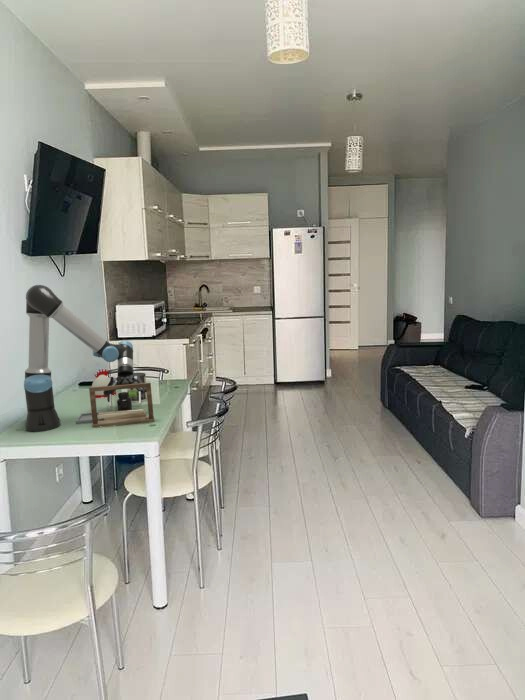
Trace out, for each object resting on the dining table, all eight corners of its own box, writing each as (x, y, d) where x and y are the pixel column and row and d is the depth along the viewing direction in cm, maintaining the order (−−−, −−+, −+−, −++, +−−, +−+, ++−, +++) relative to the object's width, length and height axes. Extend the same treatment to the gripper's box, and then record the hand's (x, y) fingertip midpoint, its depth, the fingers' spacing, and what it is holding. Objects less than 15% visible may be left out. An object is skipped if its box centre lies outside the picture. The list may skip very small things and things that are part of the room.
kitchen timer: (119, 394, 309) (117, 369, 307) (95, 399, 302) (92, 372, 299) (111, 391, 321) (108, 366, 318) (87, 395, 313) (85, 369, 311)
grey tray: (105, 421, 254) (105, 418, 253) (76, 424, 252) (75, 420, 252) (109, 414, 267) (108, 411, 266) (81, 416, 265) (80, 413, 264)
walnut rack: (153, 422, 248) (150, 384, 245) (92, 427, 244) (88, 389, 242) (154, 418, 254) (150, 381, 251) (94, 424, 250) (90, 386, 248)
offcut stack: (145, 420, 247) (144, 411, 247) (97, 424, 245) (96, 415, 244) (146, 417, 253) (145, 408, 252) (99, 421, 250) (98, 412, 249)
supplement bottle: (120, 416, 262) (118, 391, 260) (134, 415, 262) (132, 391, 260) (116, 420, 255) (114, 395, 253) (130, 419, 255) (128, 394, 253)
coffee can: (141, 402, 287) (138, 376, 285) (124, 402, 291) (122, 376, 289) (151, 398, 297) (149, 372, 295) (135, 397, 300) (132, 372, 298)
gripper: (151, 371, 274) (153, 407, 261) (100, 375, 270) (99, 412, 258) (150, 362, 268) (151, 399, 255) (98, 366, 264) (96, 404, 252)
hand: (125, 405), depth 257 cm, fingers open, 13 cm apart
